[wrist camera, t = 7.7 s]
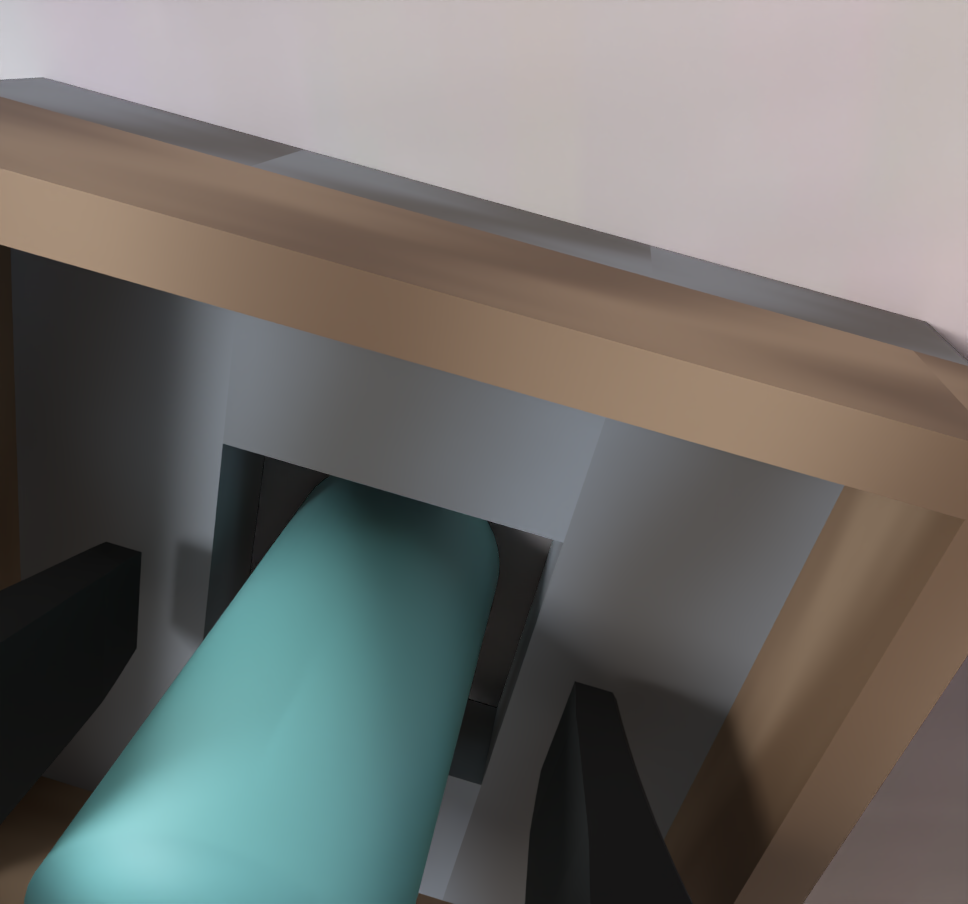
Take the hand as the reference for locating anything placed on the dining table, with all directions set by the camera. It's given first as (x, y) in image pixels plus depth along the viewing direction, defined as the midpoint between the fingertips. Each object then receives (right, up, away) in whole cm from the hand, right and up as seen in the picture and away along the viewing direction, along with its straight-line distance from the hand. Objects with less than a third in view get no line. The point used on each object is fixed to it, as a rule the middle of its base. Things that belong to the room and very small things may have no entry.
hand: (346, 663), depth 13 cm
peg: (+1, +1, +2) cm, 3 cm away
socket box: (0, +1, +3) cm, 3 cm away
